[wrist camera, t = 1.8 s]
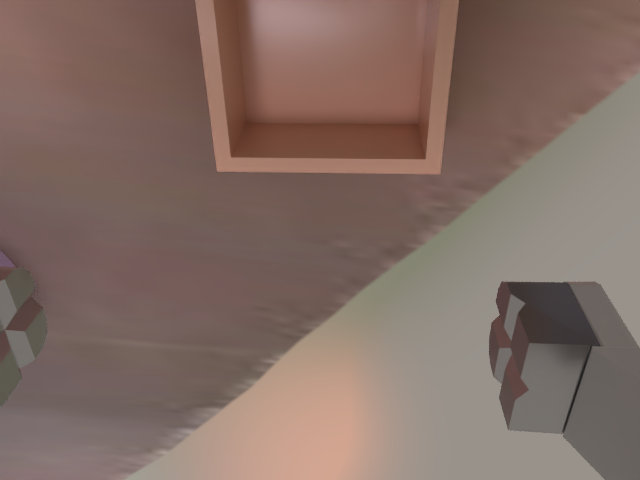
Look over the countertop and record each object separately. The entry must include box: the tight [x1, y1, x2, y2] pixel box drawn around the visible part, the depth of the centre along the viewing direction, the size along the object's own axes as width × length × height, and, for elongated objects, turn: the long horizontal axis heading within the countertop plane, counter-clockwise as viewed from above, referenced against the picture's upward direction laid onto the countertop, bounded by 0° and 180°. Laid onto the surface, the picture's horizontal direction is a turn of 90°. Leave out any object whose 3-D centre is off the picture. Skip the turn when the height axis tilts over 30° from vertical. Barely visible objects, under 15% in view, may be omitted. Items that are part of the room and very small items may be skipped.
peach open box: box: [195, 0, 459, 174], centre depth 25 cm, size 10×10×5 cm
